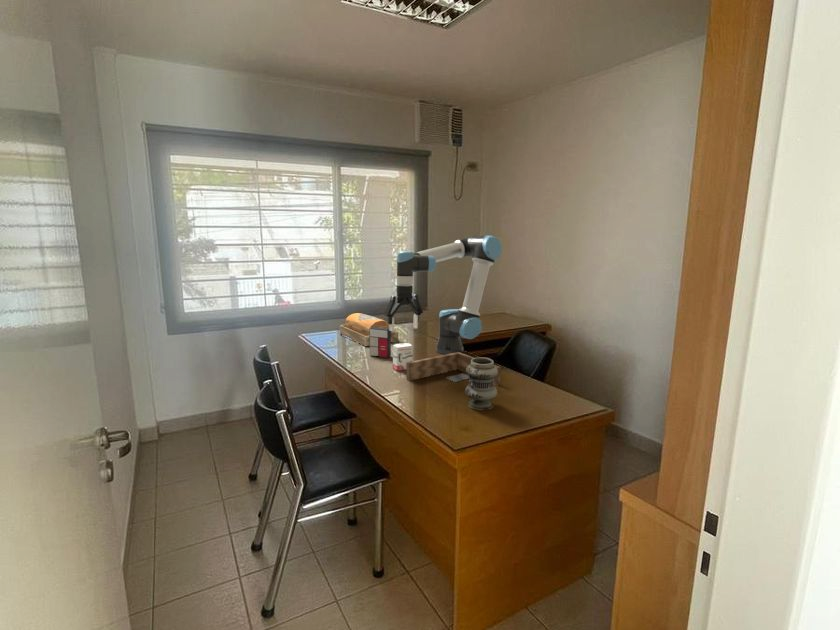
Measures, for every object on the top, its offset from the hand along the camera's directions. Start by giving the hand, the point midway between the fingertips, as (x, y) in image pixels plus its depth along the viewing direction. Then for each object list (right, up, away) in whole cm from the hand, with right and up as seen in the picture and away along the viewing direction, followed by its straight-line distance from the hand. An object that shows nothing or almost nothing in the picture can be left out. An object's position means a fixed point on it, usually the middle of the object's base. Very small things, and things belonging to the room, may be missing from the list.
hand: (403, 329), depth 206 cm
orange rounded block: (-24, -8, +61) cm, 66 cm away
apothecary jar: (+31, -28, -39) cm, 57 cm away
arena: (+22, -23, -15) cm, 35 cm away
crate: (-24, -7, +61) cm, 66 cm away
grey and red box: (-13, -15, +23) cm, 31 cm away
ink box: (-1, -19, +4) cm, 20 cm away
